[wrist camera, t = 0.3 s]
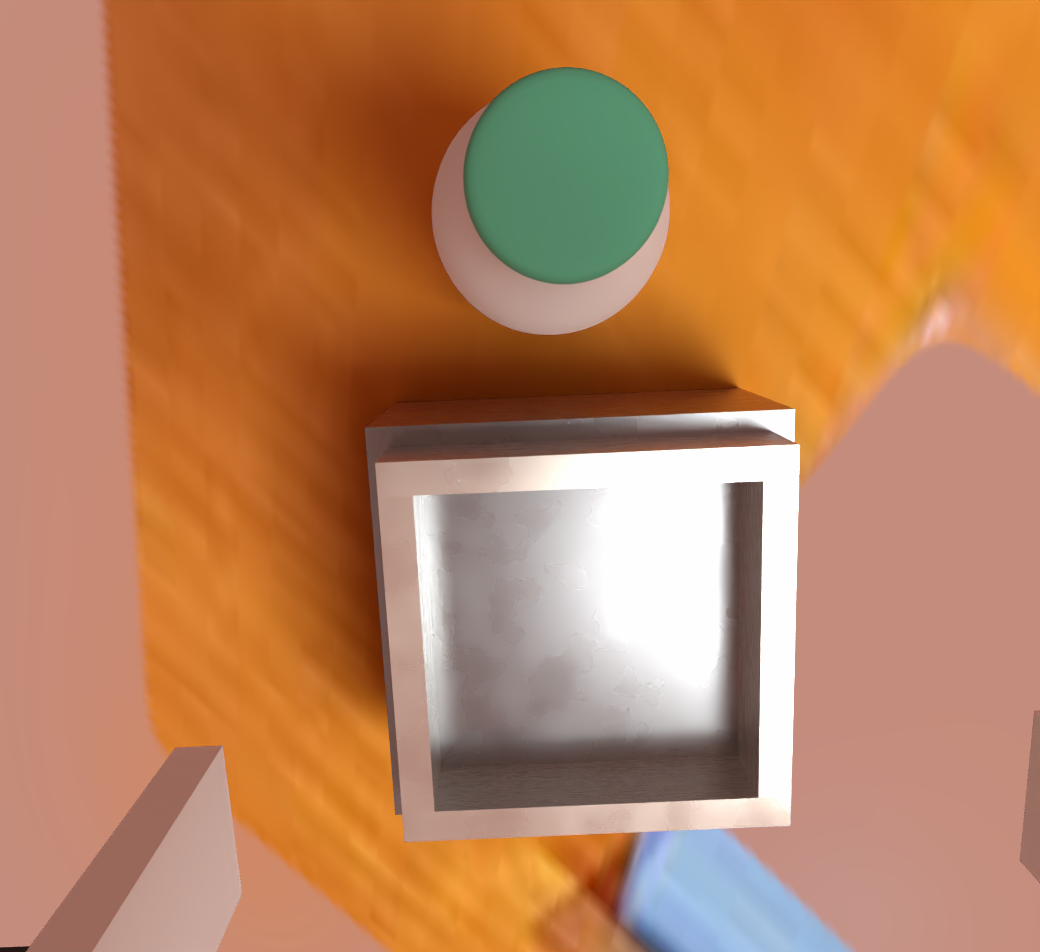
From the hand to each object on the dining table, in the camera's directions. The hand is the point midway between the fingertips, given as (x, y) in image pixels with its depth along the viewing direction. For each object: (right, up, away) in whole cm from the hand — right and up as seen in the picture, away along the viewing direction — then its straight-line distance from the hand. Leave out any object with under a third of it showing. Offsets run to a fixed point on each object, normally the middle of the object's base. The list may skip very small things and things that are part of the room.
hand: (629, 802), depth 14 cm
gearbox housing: (+1, +1, +27) cm, 27 cm away
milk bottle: (-1, +16, +24) cm, 29 cm away
